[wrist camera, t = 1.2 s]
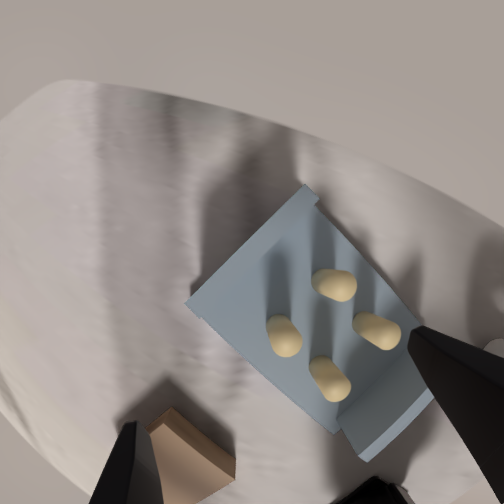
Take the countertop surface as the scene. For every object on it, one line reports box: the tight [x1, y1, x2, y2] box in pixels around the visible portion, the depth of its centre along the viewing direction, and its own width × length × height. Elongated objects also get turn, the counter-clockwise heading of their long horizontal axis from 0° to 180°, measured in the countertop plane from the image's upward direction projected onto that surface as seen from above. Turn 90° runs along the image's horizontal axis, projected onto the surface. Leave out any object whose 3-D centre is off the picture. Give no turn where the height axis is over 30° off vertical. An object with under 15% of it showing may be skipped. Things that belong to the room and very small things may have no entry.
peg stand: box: [184, 184, 434, 463], centre depth 18 cm, size 10×14×6 cm
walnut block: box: [145, 407, 236, 504], centre depth 19 cm, size 6×6×3 cm
